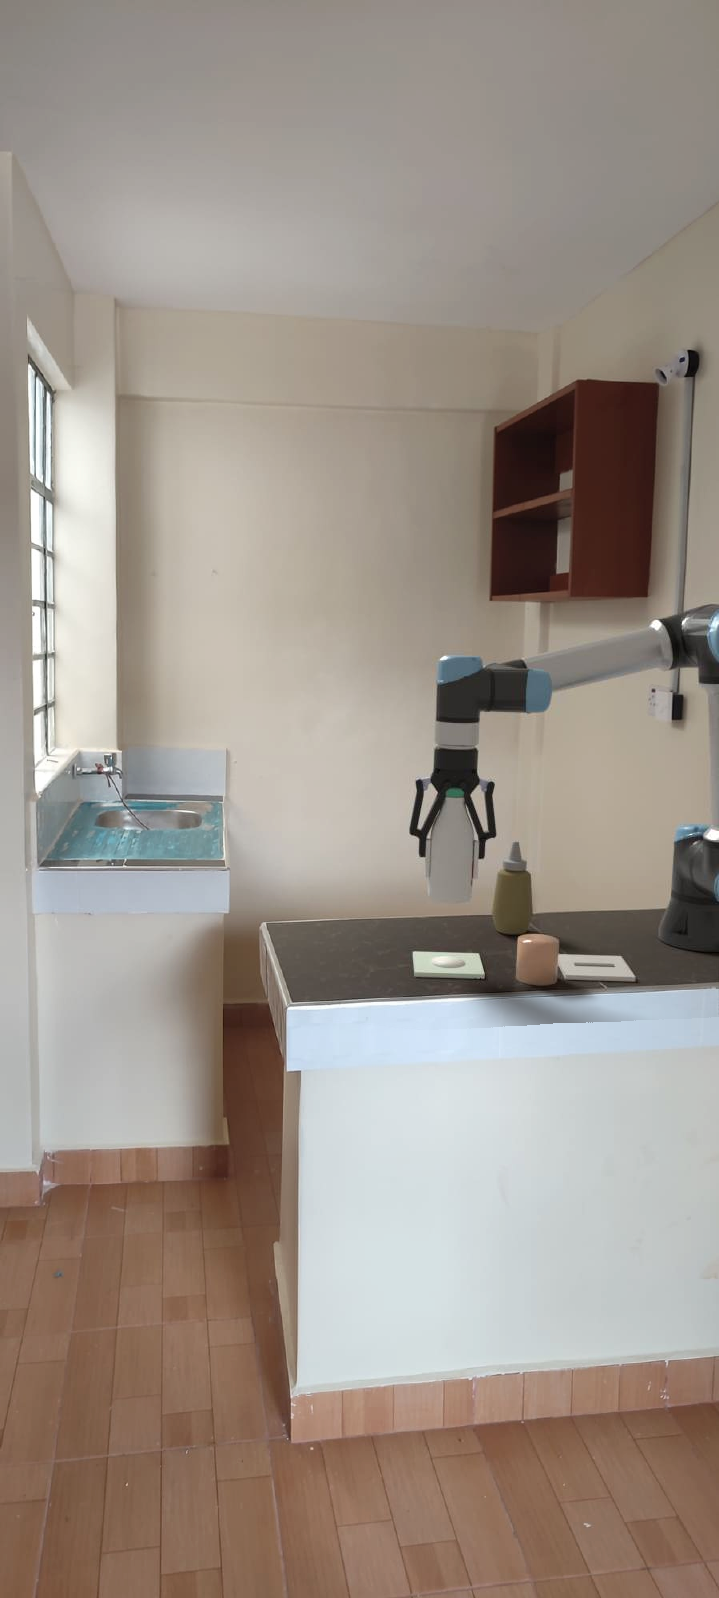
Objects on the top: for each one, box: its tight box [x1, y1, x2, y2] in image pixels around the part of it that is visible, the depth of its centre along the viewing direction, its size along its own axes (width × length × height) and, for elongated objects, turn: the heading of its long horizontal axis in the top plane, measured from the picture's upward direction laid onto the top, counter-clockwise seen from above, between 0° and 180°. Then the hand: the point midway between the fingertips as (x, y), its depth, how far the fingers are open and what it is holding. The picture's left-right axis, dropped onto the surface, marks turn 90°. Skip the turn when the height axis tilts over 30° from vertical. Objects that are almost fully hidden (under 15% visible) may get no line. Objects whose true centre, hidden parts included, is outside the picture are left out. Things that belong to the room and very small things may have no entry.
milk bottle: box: [427, 787, 475, 905], centre depth 197 cm, size 8×8×20 cm
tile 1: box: [412, 950, 486, 980], centre depth 201 cm, size 12×12×1 cm
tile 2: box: [558, 953, 636, 982], centre depth 201 cm, size 12×12×1 cm
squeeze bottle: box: [491, 841, 534, 936], centre depth 223 cm, size 8×8×18 cm
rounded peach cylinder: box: [515, 933, 560, 986], centre depth 195 cm, size 7×7×7 cm
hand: (450, 876), depth 198 cm, fingers closed on milk bottle, 8 cm apart
